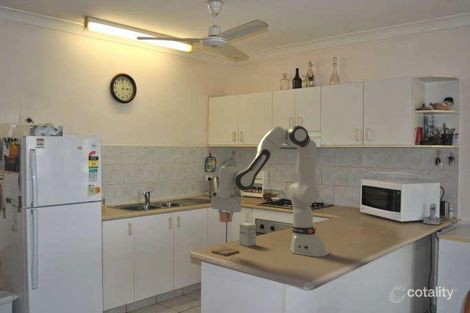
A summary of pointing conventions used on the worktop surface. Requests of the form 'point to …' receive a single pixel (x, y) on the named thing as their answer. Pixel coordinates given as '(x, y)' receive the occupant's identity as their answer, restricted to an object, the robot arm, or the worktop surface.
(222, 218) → the terracotta cube
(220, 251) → the walnut board
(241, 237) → the supplement box
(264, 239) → the worktop surface
